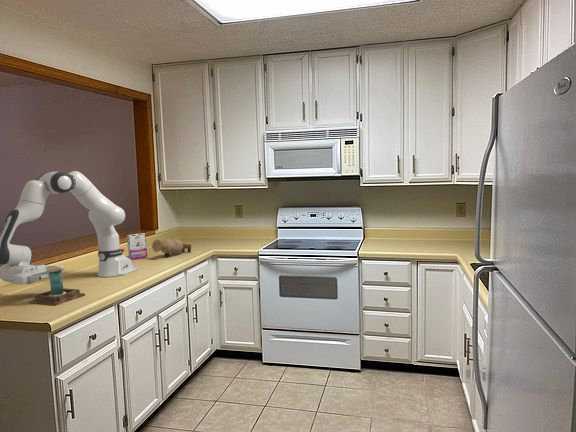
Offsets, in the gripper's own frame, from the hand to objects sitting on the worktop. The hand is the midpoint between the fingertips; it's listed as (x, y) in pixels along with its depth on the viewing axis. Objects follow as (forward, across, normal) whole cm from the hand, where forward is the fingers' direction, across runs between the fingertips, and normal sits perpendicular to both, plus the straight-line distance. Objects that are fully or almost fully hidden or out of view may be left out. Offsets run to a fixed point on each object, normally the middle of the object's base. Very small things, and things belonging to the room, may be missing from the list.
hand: (48, 275), depth 207 cm
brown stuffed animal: (-7, +103, +11) cm, 103 cm away
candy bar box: (-26, +90, +11) cm, 95 cm away
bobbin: (+4, 0, +10) cm, 11 cm away
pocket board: (+4, 0, +11) cm, 11 cm away
